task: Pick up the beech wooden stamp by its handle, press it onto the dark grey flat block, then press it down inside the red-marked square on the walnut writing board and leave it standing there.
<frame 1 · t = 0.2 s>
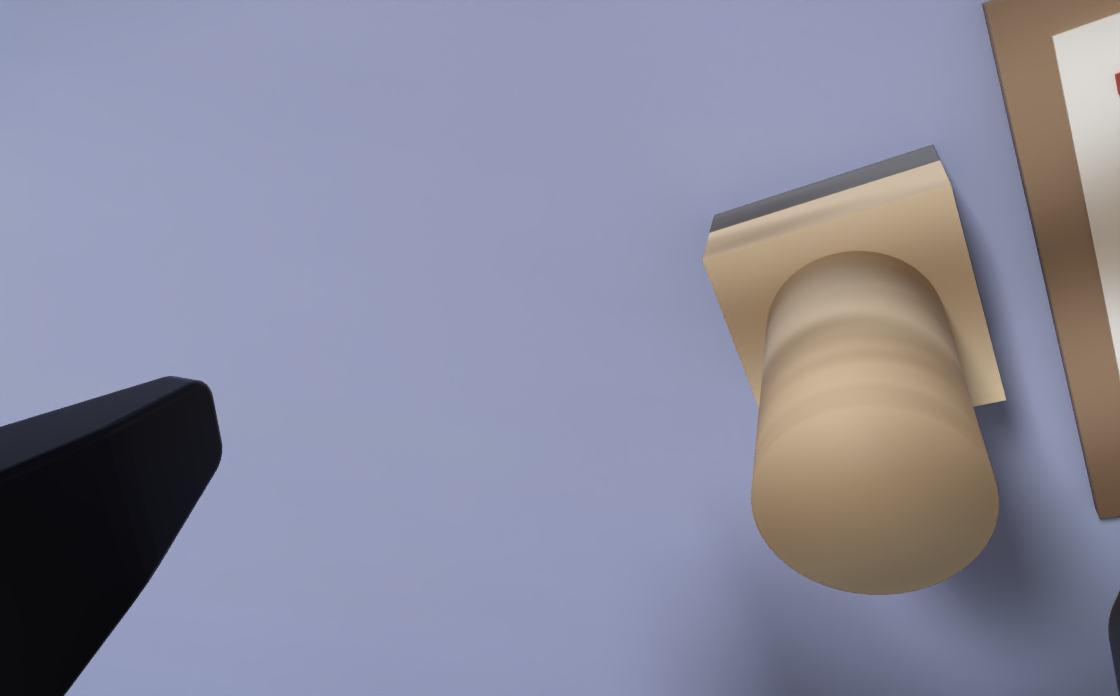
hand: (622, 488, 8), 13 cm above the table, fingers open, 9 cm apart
stamp: (848, 276, 21), on the table
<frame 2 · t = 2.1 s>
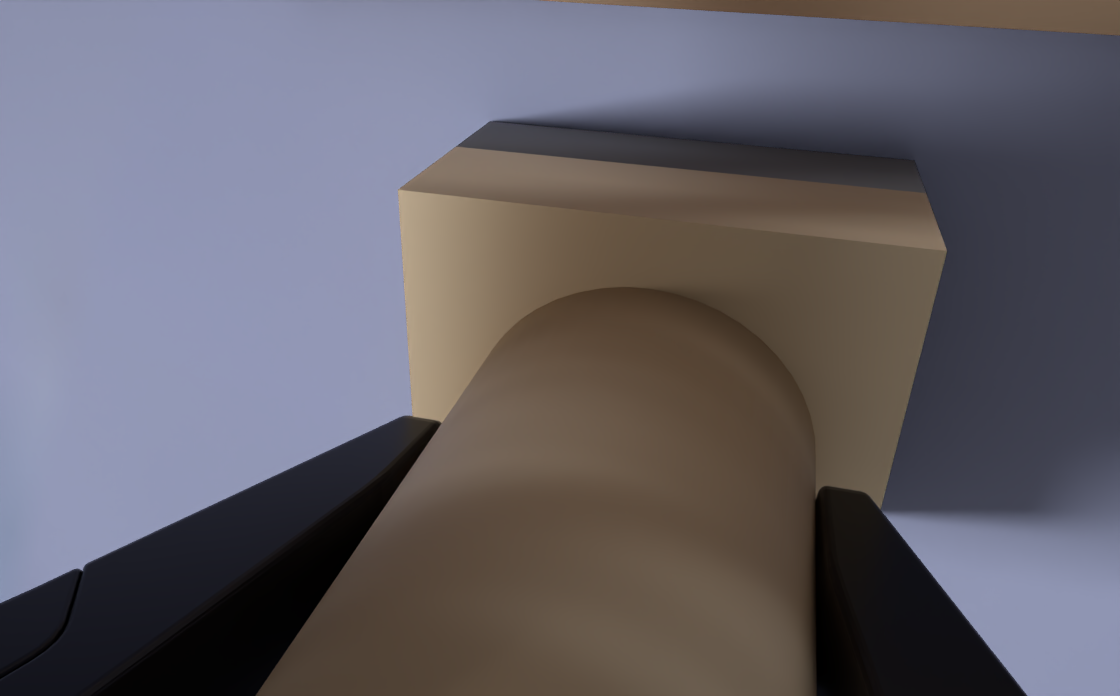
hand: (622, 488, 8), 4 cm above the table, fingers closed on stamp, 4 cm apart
stamp: (672, 328, 11), on the table, touching gripper
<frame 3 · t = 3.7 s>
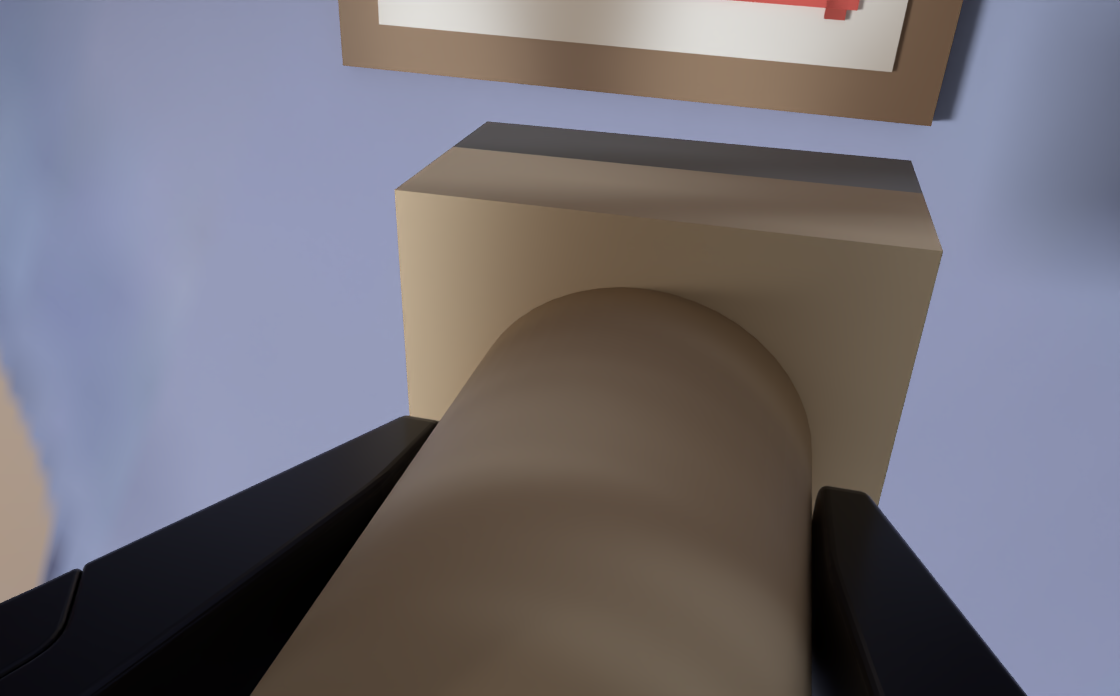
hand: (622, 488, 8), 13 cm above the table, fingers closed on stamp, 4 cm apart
stamp: (670, 328, 11), point 9 cm above the table, touching gripper
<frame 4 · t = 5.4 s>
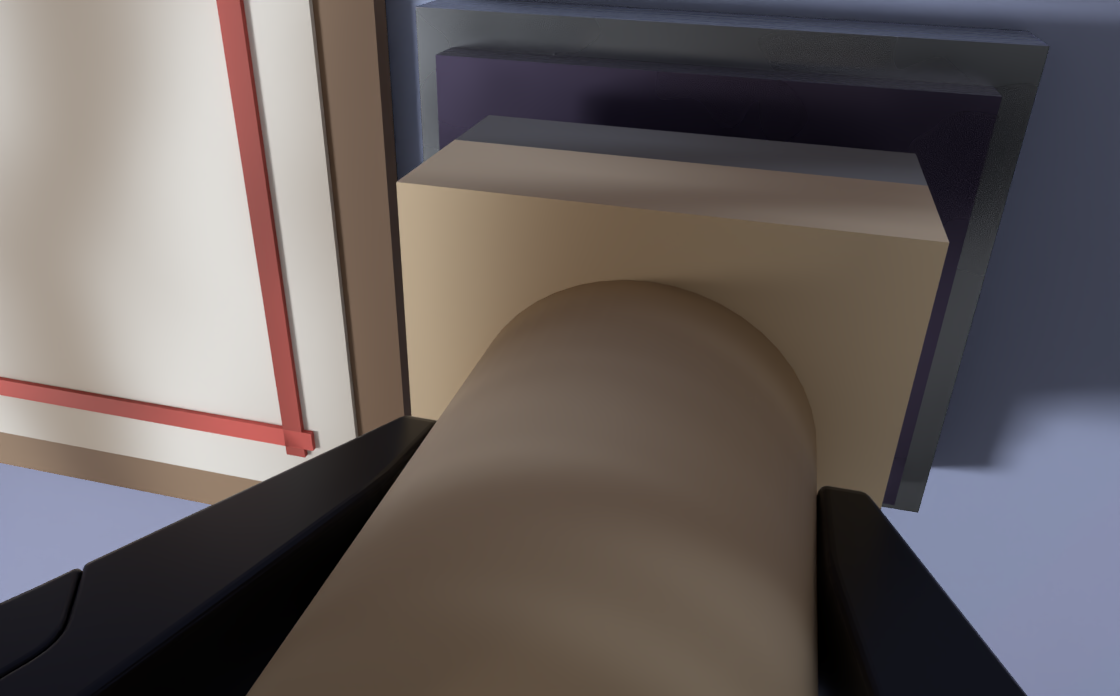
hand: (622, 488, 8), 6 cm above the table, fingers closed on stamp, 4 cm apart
dark grey flat block: (693, 247, 14), on the table
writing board: (80, 201, 16), on the table
stamp: (672, 323, 11), point 3 cm above the table, touching gripper
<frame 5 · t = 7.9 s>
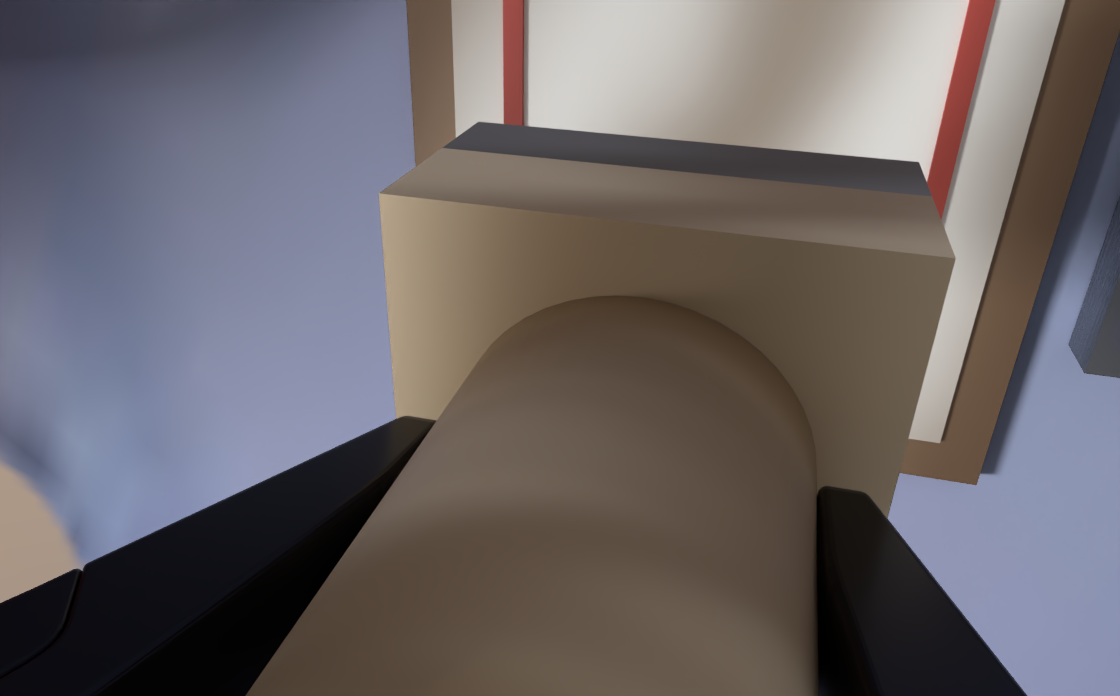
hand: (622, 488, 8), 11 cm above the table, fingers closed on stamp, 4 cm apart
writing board: (716, 166, 18), on the table
stamp: (668, 335, 11), point 8 cm above the table, touching gripper
when the fingers open (4 cm above the table, at t = 9.2 s): stamp stays where it is, resting on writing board.
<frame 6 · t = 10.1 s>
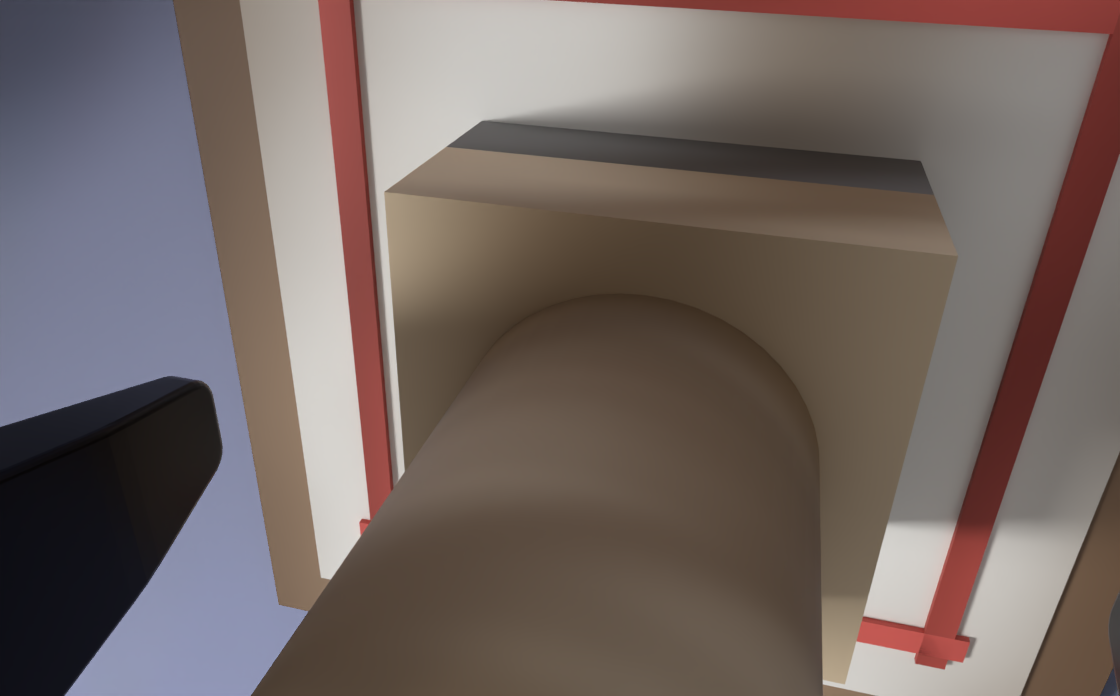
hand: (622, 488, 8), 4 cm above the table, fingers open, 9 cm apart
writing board: (671, 322, 12), on the table
stamp: (670, 333, 11), resting on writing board
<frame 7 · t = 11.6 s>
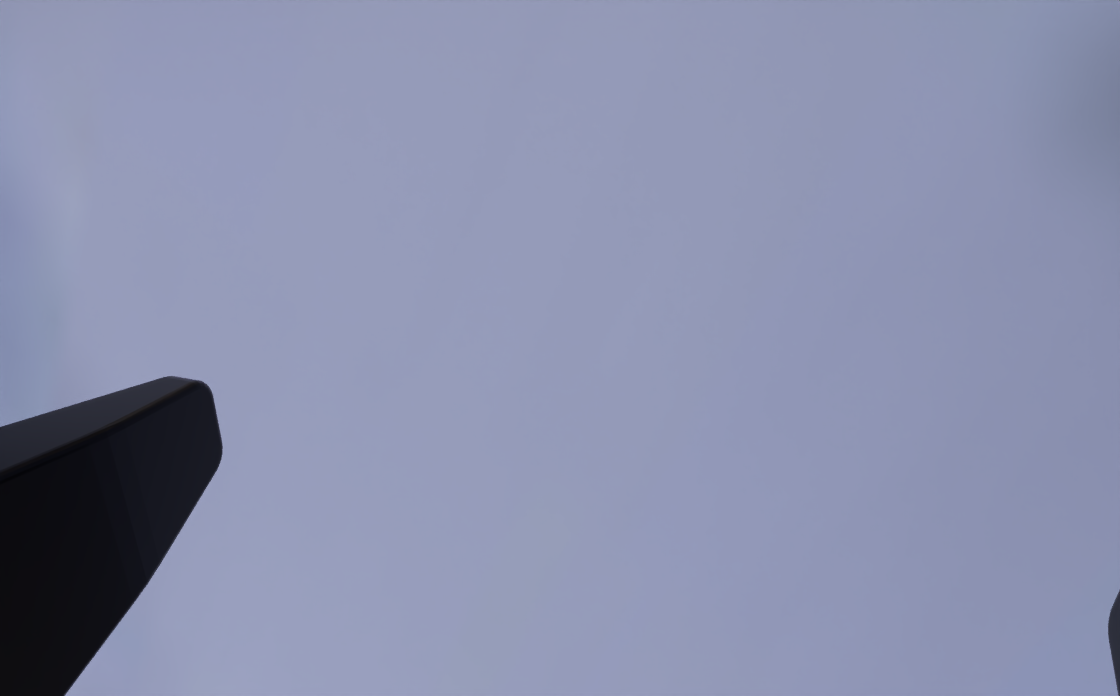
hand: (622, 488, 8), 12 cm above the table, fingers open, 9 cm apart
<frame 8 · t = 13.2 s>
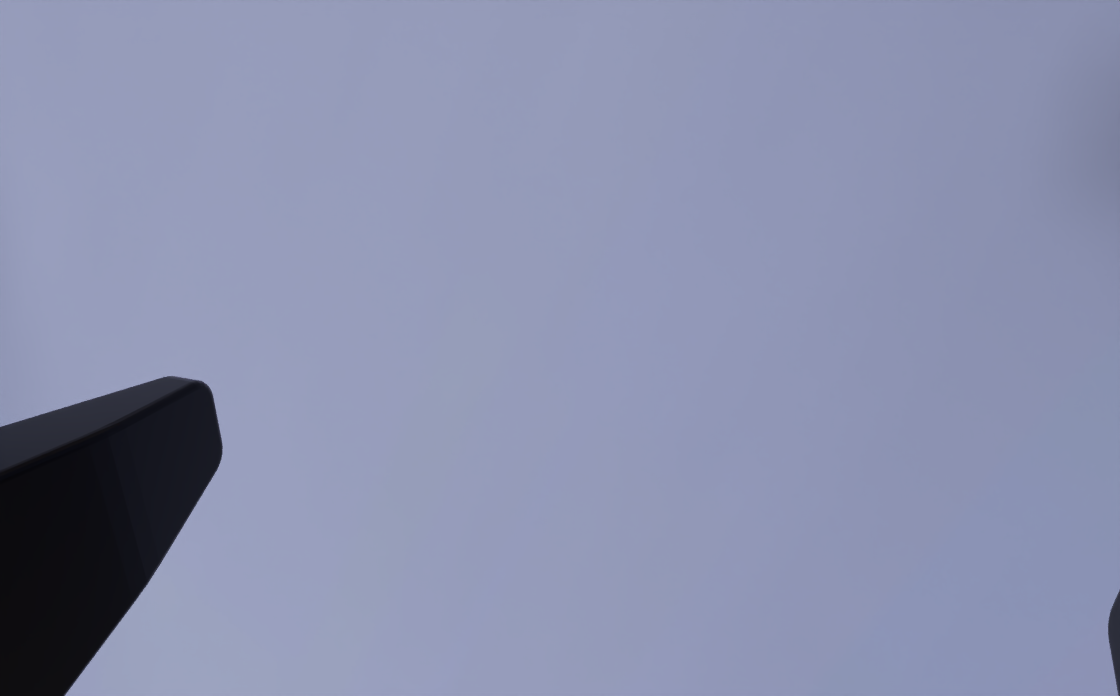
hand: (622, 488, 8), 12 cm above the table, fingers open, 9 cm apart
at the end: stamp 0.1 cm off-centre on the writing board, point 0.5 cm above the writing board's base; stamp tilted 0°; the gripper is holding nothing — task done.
